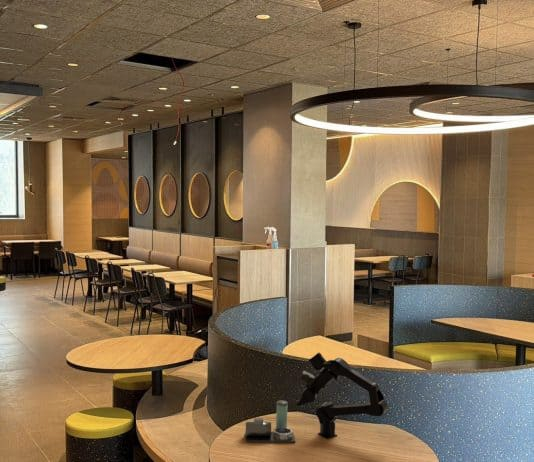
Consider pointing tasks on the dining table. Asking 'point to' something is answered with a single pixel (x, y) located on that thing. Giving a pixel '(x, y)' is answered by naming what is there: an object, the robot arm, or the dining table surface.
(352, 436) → the dining table surface
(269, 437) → the grey socket base
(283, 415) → the green capped cylinder
